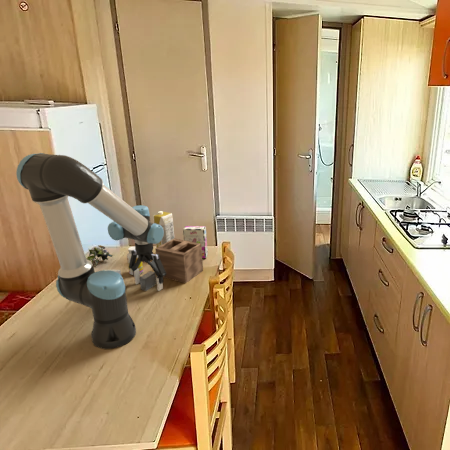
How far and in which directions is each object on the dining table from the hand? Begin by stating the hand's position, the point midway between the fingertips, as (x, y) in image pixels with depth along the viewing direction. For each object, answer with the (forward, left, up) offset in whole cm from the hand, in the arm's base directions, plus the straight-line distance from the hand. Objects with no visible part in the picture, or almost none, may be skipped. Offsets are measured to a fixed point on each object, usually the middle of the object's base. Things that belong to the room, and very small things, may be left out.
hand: (149, 286), depth 164 cm
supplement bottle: (+8, +15, 0) cm, 17 cm away
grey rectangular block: (0, 0, 0) cm, 0 cm away
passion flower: (+7, +40, 0) cm, 41 cm away
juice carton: (+31, +15, 0) cm, 34 cm away
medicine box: (-9, +13, 0) cm, 16 cm away
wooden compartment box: (+17, -5, 0) cm, 18 cm away
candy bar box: (+36, -1, 0) cm, 36 cm away
